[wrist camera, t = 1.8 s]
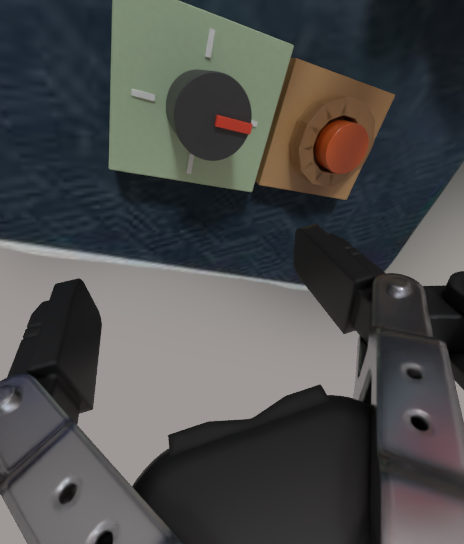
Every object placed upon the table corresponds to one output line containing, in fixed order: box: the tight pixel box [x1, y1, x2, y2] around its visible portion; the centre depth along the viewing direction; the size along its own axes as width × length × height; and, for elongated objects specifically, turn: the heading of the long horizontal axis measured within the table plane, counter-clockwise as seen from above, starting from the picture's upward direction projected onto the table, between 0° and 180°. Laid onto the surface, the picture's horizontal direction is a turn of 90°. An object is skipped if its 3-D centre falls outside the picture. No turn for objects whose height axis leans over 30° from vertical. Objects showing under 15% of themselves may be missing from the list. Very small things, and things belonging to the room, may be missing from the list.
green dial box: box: [109, 0, 294, 192], centre depth 21 cm, size 11×10×3 cm
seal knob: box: [166, 69, 253, 161], centre depth 18 cm, size 4×4×5 cm
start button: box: [314, 120, 369, 174], centre depth 22 cm, size 4×4×2 cm
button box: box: [255, 58, 395, 200], centre depth 24 cm, size 10×9×4 cm
